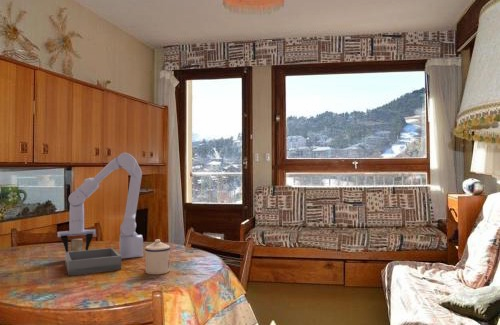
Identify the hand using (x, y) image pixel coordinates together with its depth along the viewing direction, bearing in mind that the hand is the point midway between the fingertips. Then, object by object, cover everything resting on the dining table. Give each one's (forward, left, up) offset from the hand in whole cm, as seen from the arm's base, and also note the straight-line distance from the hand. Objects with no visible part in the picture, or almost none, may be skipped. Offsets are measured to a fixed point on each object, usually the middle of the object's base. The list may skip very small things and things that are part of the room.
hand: (76, 253), depth 174 cm
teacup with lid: (-24, +35, -3) cm, 43 cm away
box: (-4, +18, -2) cm, 19 cm away
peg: (0, 0, -2) cm, 2 cm away
